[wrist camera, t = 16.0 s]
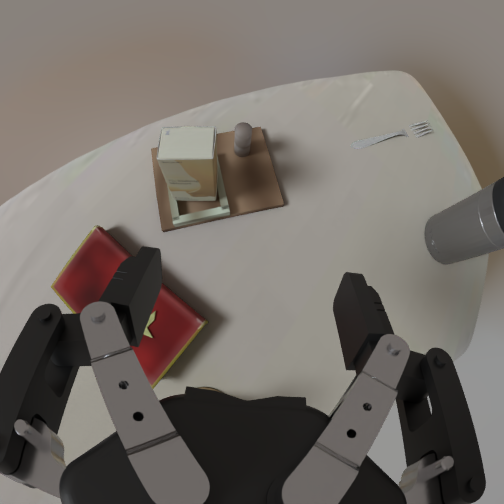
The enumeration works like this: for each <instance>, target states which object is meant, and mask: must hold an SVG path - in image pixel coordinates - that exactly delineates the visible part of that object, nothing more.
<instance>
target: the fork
mask: <svg viewBox="0 0 504 504" xmlns="http://www.w3.org/2000/svg"><path fill="white" fill-rule="evenodd" d="M425 122H427V121H423V122H420V123H416V124H412V125H409V127H412V126H416V125H419V124H422V123H425ZM426 125H429V124H425V125H422V126H419V127H416V128H411V130H412V131H413V130H416V129H419V128H421V127H424V126H426ZM430 127H431V126H430ZM430 127H427V128H424V129H421V130H419V131H416V132H413V133H414V134H417V133H419V132H422V131H424V130H426V129H428V128H430ZM432 130H433V129H432ZM432 130H429V131H426V132H424V133H422V134H419V135H417V136H416V137H420V136H422V135H424V134H426V133H428V132H430V131H432ZM396 135H404V136H406V137H408V135H407V133H406V132H405V130H404V129H402V131H399V132H395V133H391V134H387V135H383V136H378V137H373V138H368V139H363V140H359V141H355V142H353V143H352V144H351V148H354V149H361V148H364V147H367V146H370V145H373V144H375V143H378V142H380V141H382V140H385V139H387V138H390V137H393V136H396Z"/></svg>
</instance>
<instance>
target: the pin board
mask: <svg viewBox="0 0 504 504" xmlns="http://www.w3.org/2000/svg"><path fill="white" fill-rule="evenodd" d="M157 150H158V147H156V148H152V149H151V151H152V161H153V170H154V178H155V186H156V194H157V201H158V208H159V215H160V222H161V228H162V231H163V232H167V231H171V230H175V229H180V228H184V227H188V226H193V225H197V224H202V223H206V222H211V221H215V220H220V219H224V218H229V217H234V216H238V215H243V214H248V213H253V212H258V211H263V210H268V209H273V208H278V207H283V205H284V203H283V199H282V196H281V192H280V189H279V185H278V182H277V179H276V175H275V172H274V168H273V165H272V162H271V159H270V155H269V152H268V149H267V146H266V142H265V139H264V136H263V133H262V130H261V127H256V128H252V127H251V125H249V124H248V123H239V124H237V125H236V127H235V131H231V132H225V133H220V134H217V169H218V180H217V195H216V200H215V201H181V200H174V199H173V197H172V195H171V192H170V190H169V188H168V185H167V183H166V181H165V178H164V176H163V173H162V171H161V168H160V166H159V163H158V161H157Z"/></svg>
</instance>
